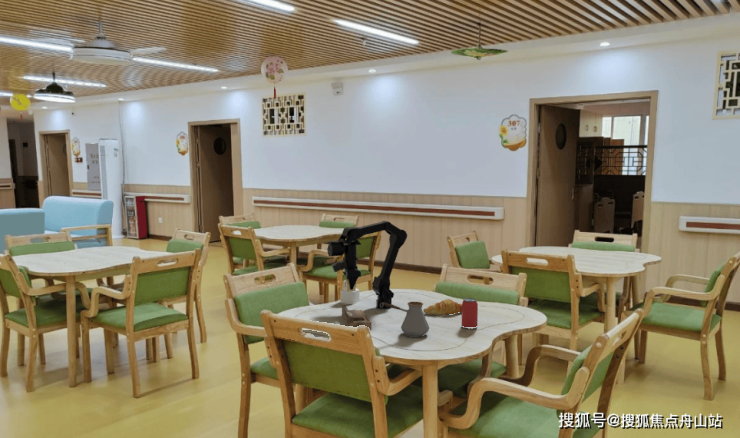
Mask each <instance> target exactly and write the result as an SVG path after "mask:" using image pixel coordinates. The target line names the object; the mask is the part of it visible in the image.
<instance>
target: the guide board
mask: <svg viewBox="0 0 740 438" xmlns="http://www.w3.org/2000/svg"><path fill="white" fill-rule="evenodd" d="M349 310H350V311H349ZM341 316H342V319H343V320H344V322H345V323H346V324H347V325H348V326H353V327H357V326H359V325H365V326H367V327H369V328H370V329H369V330H372V321H371V320H370V319H369V317H368V316H367V315H366V313H365V312H364V311H363V310H362V309H348V307H347V306H346V305H341ZM348 326H347V327H348Z"/></svg>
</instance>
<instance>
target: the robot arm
mask: <svg viewBox="0 0 740 438" xmlns="http://www.w3.org/2000/svg"><path fill="white" fill-rule="evenodd" d="M383 231H384V232H386V234H387V235H389V238H388V240H389V241H388V242H389V243H388V244H389V246H388V250H387V252H386V256H385V258H384V261H383V264H382V267H381V270H380V274H379V275H378V276H374V277H373V280H372V283H371V287H372V291H373V292H374V293H375V296H376V298H377V299H375V301H376V302H375V303H376V304H375V306H376V307H375V308H376V309H378V310H388V309H392V308H391V307H389V306H386V305H383V304H382V302H384V303H388V304H391V305H393V304H392V303H393V302H392V299H393V298H394V296H395V293H394V292H393V291H392V290H391V289H390V287H391V274H392V271H393V269H394V266H395V263H396V260H397V257H398V254H399V251H400V249H401V248H402V246H403V245H404V244H405V243H406V240H407V239H408V234H407V231H406V230H404V229H401V228H399V227H397V226H396V225H394V224H393V223H391V222H390V221H388V220H382V221H380V222H379V221H378V222H376V223H375V222H374V223H371V224H367V225H363V226H346V227H344V228H343V230H342V233H341V235H340V237H339V238H338V239H337V241H334V240H331V241H329V244H328V245H327V251H326V252H327V255H328V257H342V256H343V257H342V260H338V261H336V262H334V263H333V262H332V263H331V266H332V270H333V272H334V273H337V272H339V271H342V274H344V276H345V279H348V280H349V286H350V290H353V288H354V285H355V283H356V284H357V281H358V279H359V277H362V271H360V270H359V268H358V266H357V264H358V263H357V262H358V259H359V257H357V255H358V252H357V251H358V250H357V249H358V247H357V246H361V245H362V242H360V241H359V239H361V238H362V237H365V236H367V235H371V234H375V233H379V232H383ZM380 304H381V305H380ZM380 306H381V307H380ZM382 306H383V307H382Z"/></svg>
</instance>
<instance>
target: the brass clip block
mask: <svg viewBox="0 0 740 438" xmlns="http://www.w3.org/2000/svg"><path fill="white" fill-rule="evenodd" d="M344 281H345V290H346V291H347V292H348V291H356V289H357V282H356V283H355V285H354V288H353V290H350V286H349V280H348V279H346V278H345V280H344Z"/></svg>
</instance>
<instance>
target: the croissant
mask: <svg viewBox="0 0 740 438" xmlns="http://www.w3.org/2000/svg"><path fill="white" fill-rule="evenodd" d="M422 311H423V313H425V314H427V315H431V316H432V315H435V316H441V315H446V316H448V315H447V314H454V313H457V314H459V313H458V312H461V313H462V303H459V302H456V301H454V300H452V299H450V298H446V299H444V300H441V301H440V302H435V303H434V304H432V305H429V306H427V307H426V308H423V309H422ZM454 315H455V314H454Z"/></svg>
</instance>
